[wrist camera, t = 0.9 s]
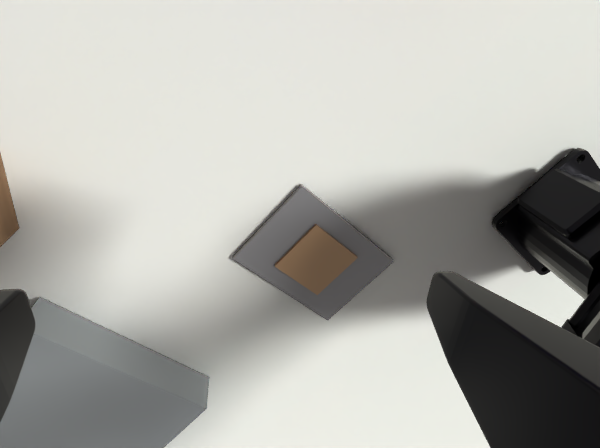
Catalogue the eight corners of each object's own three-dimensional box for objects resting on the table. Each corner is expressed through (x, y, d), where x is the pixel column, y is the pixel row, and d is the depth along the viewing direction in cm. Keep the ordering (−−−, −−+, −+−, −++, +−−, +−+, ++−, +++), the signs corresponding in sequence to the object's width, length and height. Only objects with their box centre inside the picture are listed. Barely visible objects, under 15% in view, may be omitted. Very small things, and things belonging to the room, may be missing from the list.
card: (392, 258, 25) (394, 263, 24) (326, 317, 27) (328, 322, 26) (301, 184, 22) (302, 187, 21) (233, 256, 23) (232, 261, 23)
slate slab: (209, 377, 28) (206, 408, 26) (115, 465, 31) (106, 499, 29) (39, 297, 23) (18, 327, 21) (-51, 412, 26) (-77, 448, 24)
